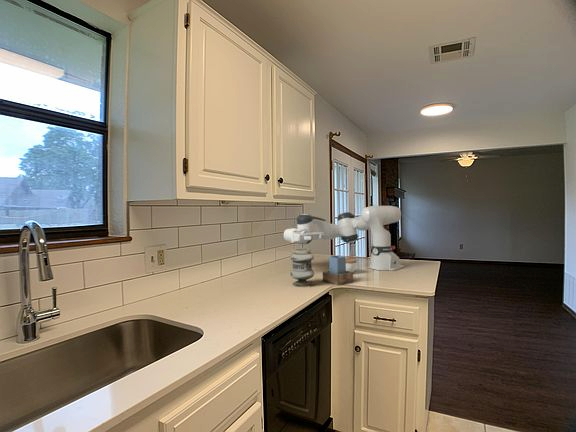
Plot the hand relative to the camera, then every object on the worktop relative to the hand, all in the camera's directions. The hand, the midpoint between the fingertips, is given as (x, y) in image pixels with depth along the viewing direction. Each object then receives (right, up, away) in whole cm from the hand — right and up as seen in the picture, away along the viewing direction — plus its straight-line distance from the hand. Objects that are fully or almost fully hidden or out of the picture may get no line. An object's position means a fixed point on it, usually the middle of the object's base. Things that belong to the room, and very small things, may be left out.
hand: (318, 237), depth 184 cm
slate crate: (+9, -21, -13) cm, 27 cm away
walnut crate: (+9, -22, -13) cm, 27 cm away
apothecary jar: (-10, -23, -18) cm, 31 cm away
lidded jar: (+18, -22, +8) cm, 30 cm away
